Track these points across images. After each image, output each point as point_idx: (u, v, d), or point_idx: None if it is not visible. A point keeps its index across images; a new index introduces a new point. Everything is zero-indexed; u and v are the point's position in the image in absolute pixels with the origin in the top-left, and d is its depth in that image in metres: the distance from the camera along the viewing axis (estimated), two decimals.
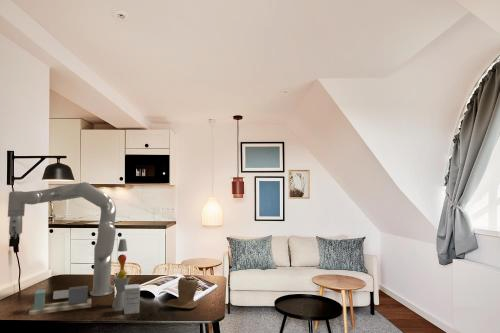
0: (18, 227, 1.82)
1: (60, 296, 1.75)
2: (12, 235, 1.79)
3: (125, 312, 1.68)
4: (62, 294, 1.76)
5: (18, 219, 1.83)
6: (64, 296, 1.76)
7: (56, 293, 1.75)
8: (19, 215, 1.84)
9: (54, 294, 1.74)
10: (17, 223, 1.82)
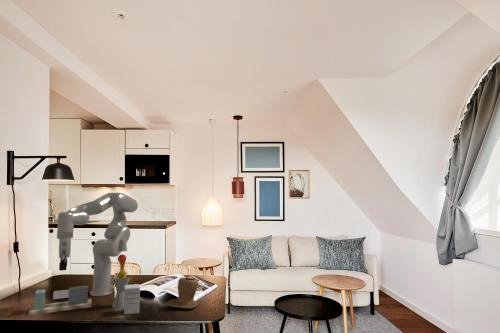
0: (68, 250, 1.76)
1: (60, 296, 1.75)
2: (63, 258, 1.72)
3: (125, 312, 1.68)
4: (62, 294, 1.76)
5: (68, 241, 1.76)
6: (64, 296, 1.76)
7: (56, 293, 1.75)
8: (69, 237, 1.78)
9: (54, 294, 1.74)
10: (67, 246, 1.76)
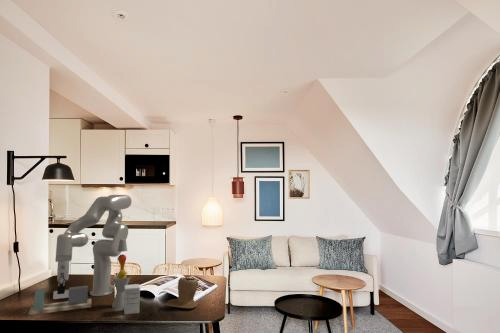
0: (66, 273, 1.74)
1: (60, 296, 1.75)
2: (61, 282, 1.71)
3: (125, 312, 1.68)
4: (62, 294, 1.76)
5: (66, 264, 1.75)
6: (64, 296, 1.76)
7: (56, 293, 1.75)
8: (67, 260, 1.76)
9: (54, 294, 1.74)
10: (66, 269, 1.74)
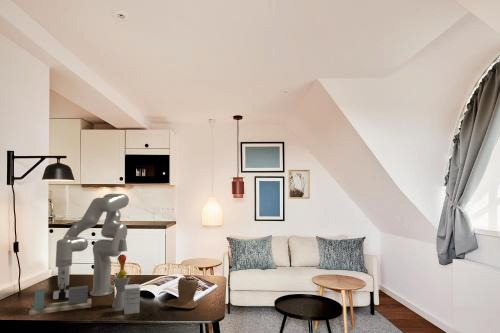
0: (67, 278, 1.75)
1: None
2: None
3: (125, 312, 1.68)
4: None
5: (67, 269, 1.75)
6: None
7: (56, 293, 1.75)
8: (67, 265, 1.77)
9: (54, 294, 1.74)
10: (66, 274, 1.74)
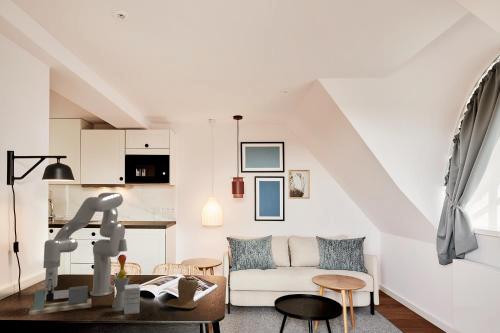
0: (55, 279, 1.72)
1: None
2: None
3: (125, 312, 1.68)
4: None
5: (55, 271, 1.73)
6: None
7: (44, 294, 1.72)
8: (55, 266, 1.74)
9: None
10: (54, 275, 1.72)
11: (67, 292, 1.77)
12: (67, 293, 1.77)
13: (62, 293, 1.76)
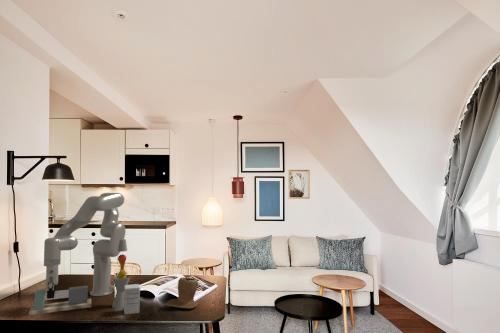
0: (55, 277, 1.72)
1: None
2: (50, 287, 1.69)
3: (125, 312, 1.68)
4: None
5: (55, 269, 1.73)
6: None
7: (44, 294, 1.72)
8: (56, 264, 1.74)
9: None
10: (54, 273, 1.72)
11: (67, 292, 1.77)
12: (67, 293, 1.77)
13: (62, 293, 1.76)
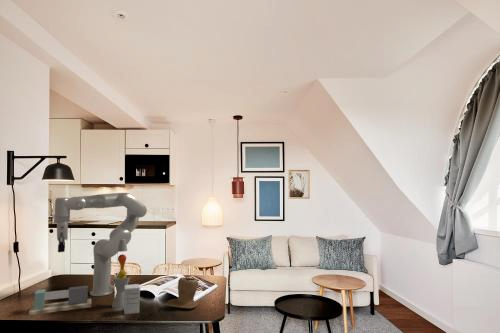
0: (66, 233, 1.86)
1: (48, 297, 1.73)
2: (61, 241, 1.83)
3: (125, 312, 1.68)
4: (49, 296, 1.73)
5: (65, 225, 1.87)
6: (52, 297, 1.74)
7: (44, 294, 1.72)
8: (66, 221, 1.88)
9: None
10: (65, 229, 1.86)
11: (67, 292, 1.77)
12: (67, 293, 1.77)
13: (62, 293, 1.76)
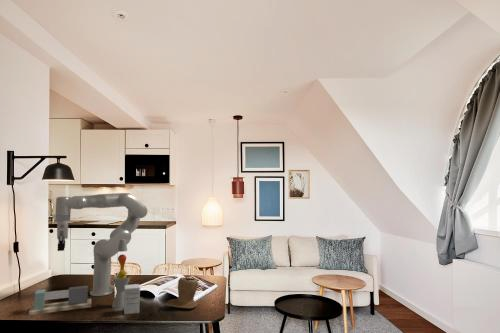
0: (66, 232, 1.87)
1: (48, 297, 1.73)
2: (61, 239, 1.83)
3: (125, 312, 1.68)
4: (49, 296, 1.73)
5: (65, 224, 1.88)
6: (52, 297, 1.74)
7: (44, 294, 1.72)
8: (66, 220, 1.89)
9: None
10: (65, 228, 1.87)
11: (67, 292, 1.77)
12: (67, 293, 1.77)
13: (62, 293, 1.76)
